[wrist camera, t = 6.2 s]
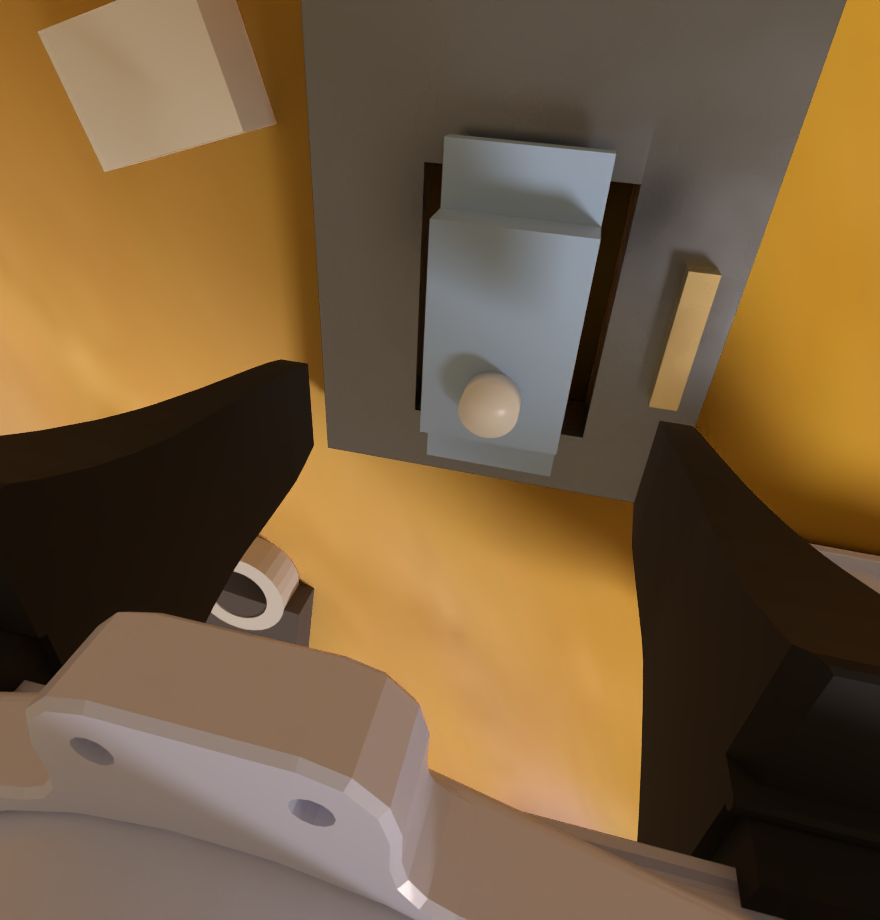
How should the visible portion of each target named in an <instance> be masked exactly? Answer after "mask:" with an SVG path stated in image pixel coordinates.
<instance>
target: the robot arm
mask: <svg viewBox="0 0 880 920" xmlns="http://www.w3.org/2000/svg"><path fill="white" fill-rule="evenodd" d="M313 446H314V440H313V426H312V413H311V400H310V386H309V373H308V364H305V363H299V362H293V361H287V360H277V361H273V362H269V363H266V364H263V365H260V366H257V367H255V368H252V369H249V370H247V371H244V372H241V373H239V374H236V375H234V376H231V377H229V378H226V379H223V380H221V381H218V382H216V383H213V384H211V385H208V386H205V387H203V388H200V389H197V390H195V391H192V392H189V393H186V394H183V395H180V396H177V397H174V398H172V399H169V400H166V401H163V402H160V403H157V404H154V405H151V406H148V407H144V408H141V409H137V410H134V411H130V412H126V413H122V414H119V415H115V416H111V417H107V418H103V419H98V420H94V421H89V422H83V423H78V424H73V425H67V426H62V427H57V428H52V429H46V430H40V431H34V432H26V433H19V434H11V435H3V436H0V920H880V556H876V555H870V554H865V553H859V552H854V551H848V550H843V549H837V548H832V547H826V546H821V545H815V544H810V543H808V542H807V541H806V540H804V539H803V538H802V537H801V536H799V535H798V534H797V533H796V532H794V531H793V530H792V529H791V528H790V527H789V526H787V525H786V524H785V523H784V522H783V521H782V520H781V519H780V518H779V517H778V516H776V515H775V514H774V513H773V512H772V511H771V510H770V509H769V508H768V507H767V506H766V505H765V504H764V503H763V502H762V501H761V500H760V499H759V498H758V497H757V496H756V495H755V494H754V493H753V492H752V491H751V490H750V489H749V488H748V487H747V486H746V485H745V484H744V483H743V482H742V481H741V480H740V478H739V477H738V476H737V475H736V474H735V473H734V472H733V471H732V470H731V469H730V467H729V466H728V465H727V464H726V463H725V462H724V461H723V460H722V458H721V457H720V456H719V455H718V454H717V453H716V451H715V450H714V449H713V448H712V447H711V446H710V444H709V443H708V442H707V441H706V440H705V439H704V438H703V436H702V435H701V434H700V433H699V432H698V431H697V430H696V429H695V428H694V427H693V426H690V425H684V424H678V423H671V422H665V421H659V424H658V427H657V431H656V434H655V437H654V440H653V443H652V447H651V450H650V453H649V456H648V459H647V463H646V466H645V469H644V472H643V475H642V479H641V482H640V485H639V488H638V492H637V495H636V498H635V501H634V510H633V532H632V550H633V560H634V570H635V580H636V589H637V599H638V608H639V617H640V626H641V635H642V649H643V718H642V756H641V780H640V803H639V823H638V839H637V842H636V841H632V840H628V839H624V838H621V837H617V836H613V835H609V834H606V833H602V832H598V831H594V830H590V829H587V828H583V827H579V826H575V825H571V824H568V823H564V822H560V821H556V820H553V819H549V818H545V817H541V816H537V815H534V814H530V813H526V812H522V811H519V810H517V809H515V808H513V807H511V806H509V805H506V804H504V803H502V802H500V801H498V800H496V799H494V798H491V797H489V796H487V795H485V794H483V793H481V792H479V791H476V790H474V789H472V788H470V787H468V786H466V785H463V784H461V783H459V782H457V781H455V780H453V779H451V778H448V777H446V776H444V775H442V774H440V773H438V772H435V771H433V770H431V769H429V768H428V763H427V757H428V746H429V731H428V728H427V725H426V722H425V719H424V716H423V713H422V710H421V707H420V705H419V704H418V702H417V701H416V700H415V698H414V697H413V696H411V695H410V694H409V693H408V692H407V691H406V690H405V689H403V688H402V687H401V686H400V685H399V684H398V683H397V682H396V681H394V680H393V679H392V678H391V677H390V676H389V675H388V674H386V673H385V672H383V671H380V670H378V669H375V668H373V667H370V666H368V665H365V664H363V663H361V662H358V661H356V660H353V659H351V658H348V657H346V656H342V655H338V654H334V653H329V652H325V651H321V650H317V649H312V648H308V647H304V646H300V645H295V644H291V643H287V642H283V641H278V640H274V639H270V638H266V637H262V636H257V635H253V634H249V633H245V632H240V631H236V630H232V629H228V628H223V627H219V626H215V625H211V624H206V621H207V619H208V617H209V615H210V613H211V611H212V609H213V607H214V605H215V604H216V602H217V600H218V598H219V596H220V594H221V593H222V591H223V589H224V587H225V585H226V584H227V582H228V580H229V578H230V576H231V575H232V573H233V571H234V569H235V568H236V566H237V565H238V563H239V562H240V560H241V559H242V557H243V555H244V554H245V553H246V551H247V550H248V548H249V547H250V546H251V544H252V543H253V541H254V540H255V539H256V537H257V536H258V534H259V533H260V532H261V530H262V529H263V527H264V526H265V525H266V523H267V522H268V520H269V519H270V518H271V516H272V515H273V513H274V512H275V511H276V509H277V508H278V506H279V505H280V504H281V502H282V501H283V499H284V498H285V496H286V495H287V494H288V492H289V491H290V489H291V488H292V486H293V485H294V483H295V482H296V480H297V478H298V476H299V475H300V473H301V471H302V469H303V467H304V465H305V463H306V461H307V459H308V456H309V454H310V452H311V450H312V448H313Z"/></svg>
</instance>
